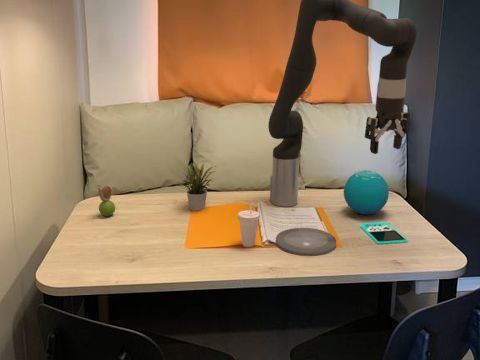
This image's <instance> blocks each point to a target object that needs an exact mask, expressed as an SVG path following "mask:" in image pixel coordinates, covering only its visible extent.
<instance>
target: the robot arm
mask: <svg viewBox="0 0 480 360" xmlns="http://www.w3.org/2000/svg"><path fill="white" fill-rule="evenodd" d="M297 15H298V16H297V20H296V26H295V33H294V36H293V40H292V45H291V49H290V52H289V56H288V58H287V62H286V66H285V70H284V72H283V77H282V80H281V84H280V89H279V92H278V94H277V95H278V96H277V98H276V100H275V103H274V105H273V108H272V110H271V113H270V116H269V120H268V133H269V135H270V137H272V138H273V139H275V140H281V142H280V143H279V144H277V145H276V146H274V148H273V149H272V175H271V176H270V177H269V179H270V181H269V182H270V185H269V189H270V190H269V201H270V202H271V204H273V205H274V206H278V207H284V208H285V207H287V208H288V207H293V206H296V205H297V204H298V199H299V198H298V194H299V193H298V192H299V169H300V167H299V166H300V152H301V150H302V146H303V145H302V144H303V132H304V122H303V118H302V117H303V116H302V115H301V113H299V112H298V111H297V110H292V109H293V107H294V105H295V103H296V102H297V101H298V99H299V98H300V97H301V96H302V95H303V93H305V91H306V90H307V89H308V87H309V86H310V84H311V83H312V79H313V77H314V74H315V70H316V68H317V56H316V50H315V47H314V43H313V35H314V30H315V26H316V24H317V22H328V21H334V22H340V23H341V22H342V23H345V24H346V25H347V26H348V27H349V28H350V29H351V30H352V31H354V32H357V33H358V34H360V35H361V34H362V35H364V36H366V37H369V38H370V39H372V41H374V42H375V43H377V44H378V45H380V46H383V47H387V48H390V47H391V50H390V52H389V53H388V54H386V55H384V56H382V57H381V60H380V64H379V75H378V76H379V77H378V80H377V81H378V82H377V87H376V97H375V112H376V115H375V117H371V116H367V118H366V122H365V132H364V138H365V139H367V140H370V143H369V151H370V153H371V154H374V155H377V154H379V143H380V142H379V140H380V138H381V137H382V136H383V135H384V134H385V132H390V131H393V133H394V135H393V144H392V145H393V147H392V148H394V149H396V150H400V149H401V147H402V144H403V143H402V142H403V137H404V136H405V134H409V133H410V118H411V114H410V112H406V111H404V108H405V100H406V90H407V82H406V81H407V71H408V70H407V69H408V62H409V60H410V57H411V54H412V52H413V49H414V46H415V43H416V41H417V40H416V39H417V34H418V33H417V26H416V24H415V22H414V21H413V19H411V18H408V17H402V18H387V16H386V15H385V14H384V13H383V12H380V11H378V10H375V9H372V8H369V7H366V6H363V5H360V4H357V3H354V2H352V1H350V0H300V4H299V10H298V14H297Z"/></svg>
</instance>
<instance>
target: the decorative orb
mask: <svg viewBox="0 0 480 360" xmlns="http://www.w3.org/2000/svg"><path fill="white" fill-rule="evenodd" d="M389 188H390V187H389V186H388V183H387V181H386V180H385V178H384V177H383V176H382V175H381V174H380V173H377V172H375V171H372V170H366V169H365V170H364V169H363V170H360V171H357V172H355V173H353V174H352V175H350V176H349V177H348V179H347V180H346V182H345V185H344V187H343V198H344V200H345V203H346V204H347V206H348V207H349V208H350V210H352V211H353V212H355V213H357V214H358V215H359V214H360V215H372V214H376V213H378V212H380V210H382V209H383V208H384V207H385V206H386V204H387V202H388V199H389V194H390V191H389Z"/></svg>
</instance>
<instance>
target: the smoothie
mask: <svg viewBox="0 0 480 360" xmlns="http://www.w3.org/2000/svg"><path fill="white" fill-rule="evenodd" d="M252 207H253V200H252V199H249V210H241V211H239V212H238V214H237V218H238V219H239V220H238V221H239V227H240V228H239V229H240V235H241V243H242V244H243V245H242V247H246V248H251V247H254V246H255V245H256V238H257V232H258V225H259V224H258V223H259V219H260V217H261V216H260V215H261V214H260V213H259V212H258V211H255V210H252V209H253V208H252Z"/></svg>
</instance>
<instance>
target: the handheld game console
mask: <svg viewBox="0 0 480 360" xmlns="http://www.w3.org/2000/svg"><path fill="white" fill-rule="evenodd" d="M359 226H360V227H359V228H360V229H361V230H362V231H363V232H364V233H365V234H366V235H367V236H368V237H369V238H371V240H372V241H373V242H374V243H375V244H376V245H377V246H379V245H392V244H394V245H395V244H408V242H409V240H408V239H407V238H405V237H404V236H403V235H402V234H401V233H400V232H399V231H398V230H396V229H395V228H394V227H393V226H392V225H391V224H390V223H388V222H387V221H381V222H380V221H379V222H377V221H376V222H366V223H362V224H360V225H359Z"/></svg>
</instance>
